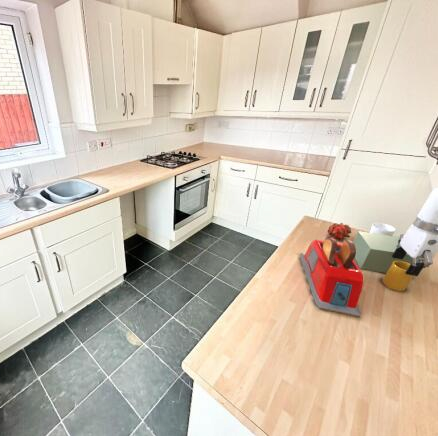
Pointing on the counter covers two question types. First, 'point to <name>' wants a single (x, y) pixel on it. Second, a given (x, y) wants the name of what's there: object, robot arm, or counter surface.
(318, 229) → the counter surface
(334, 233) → the dragon fruit
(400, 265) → the cup
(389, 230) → the white cup
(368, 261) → the shelf
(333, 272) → the toaster
